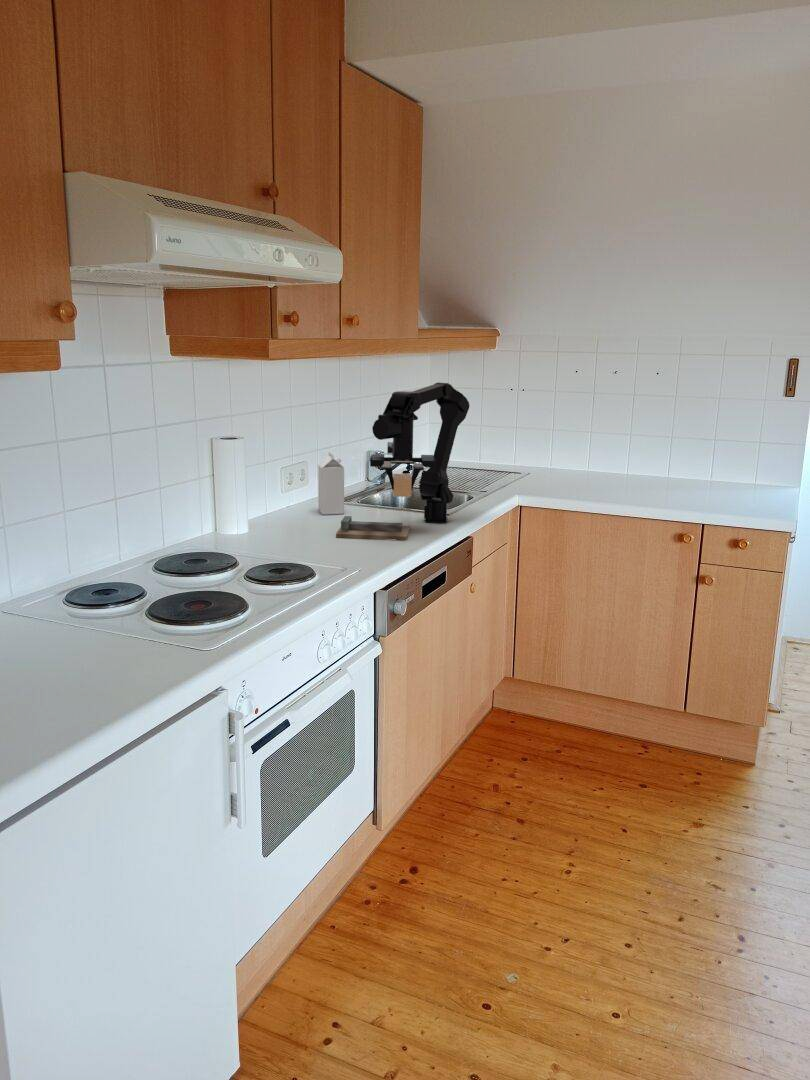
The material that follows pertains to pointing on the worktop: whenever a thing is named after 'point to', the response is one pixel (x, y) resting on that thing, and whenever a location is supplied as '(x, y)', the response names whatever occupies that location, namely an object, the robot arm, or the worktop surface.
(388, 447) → the robot arm
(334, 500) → the milk carton
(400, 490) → the block
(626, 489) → the worktop surface
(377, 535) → the rail board
